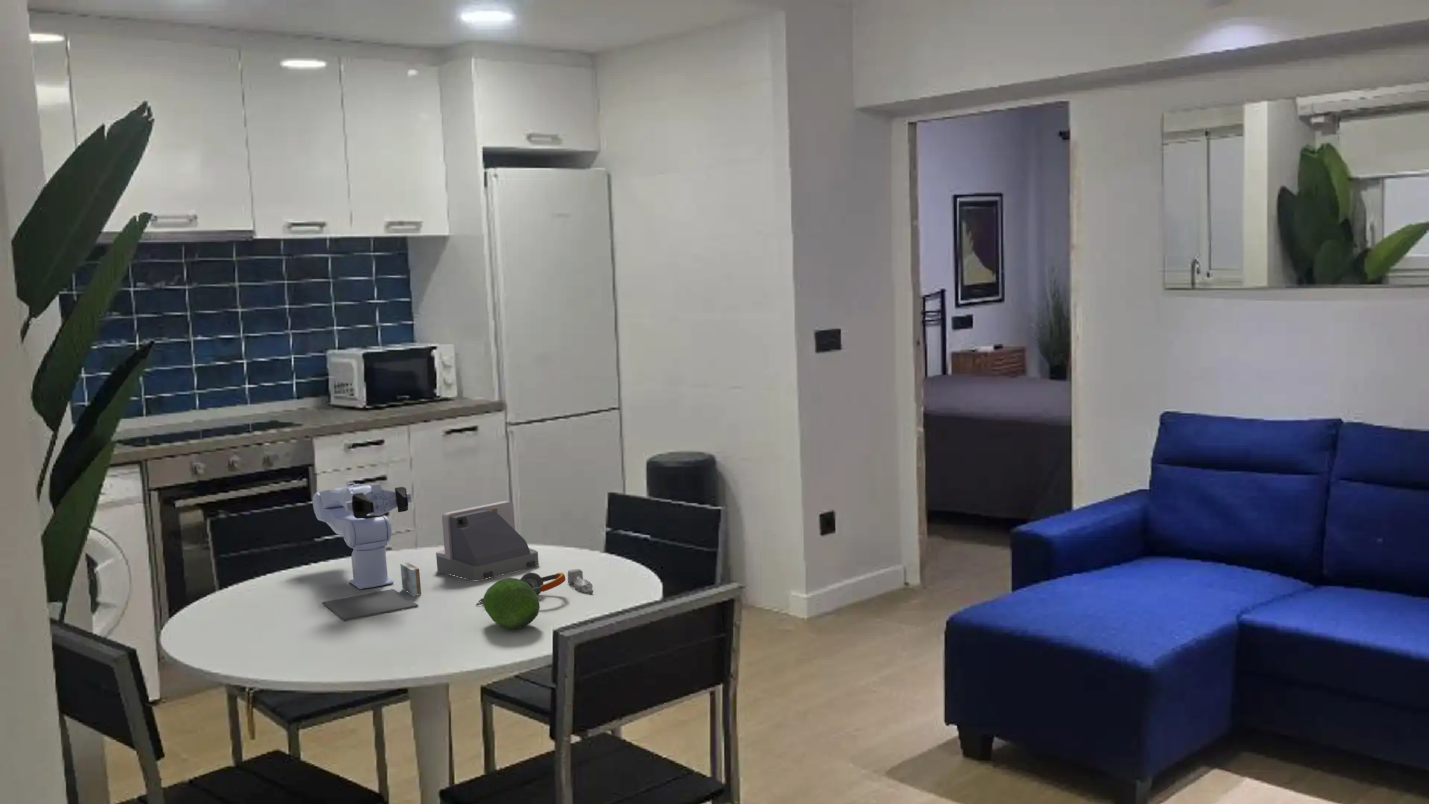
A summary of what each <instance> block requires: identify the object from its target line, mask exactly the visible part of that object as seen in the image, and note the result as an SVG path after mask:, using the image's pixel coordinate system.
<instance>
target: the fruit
mask: <svg viewBox="0 0 1429 804" xmlns="http://www.w3.org/2000/svg"><path fill="white" fill-rule="evenodd" d="M519 579H520V578H515V577H514V578H513V577H506V578H501V579H499V580H497V581H496V582H494V583H493V584H492V585H491V586H489V587H488V588H487V590H486V591H485V593H484V595H483V598H484V599H483V604H482V605H483V608H484V610H485V611H486V613H487V615H488V616H489V618H491V620H492V621H493V623H496V624H497V625H499V626H500V627H502V628H505V629H511V630H512V629H513V630H518V629H519V630H520V629H522V628H524V627H526V626H528V625H529V624H531V623H532V622H533V621H534V620H536V618H537V616H538V615H539V612H540V608H541V607H540V599H539V595H537V594H536V593H535V591H534V590H533V588H532V587H531V586H530V585H529V584H528V583H527V582H524V581H522V580H519Z"/></svg>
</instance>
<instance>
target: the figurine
mask: <svg viewBox="0 0 1429 804" xmlns="http://www.w3.org/2000/svg"><path fill="white" fill-rule="evenodd" d="M583 573H584V572H583V570H581V569H580V568H574V569H570V570H568V571H567V584H568V585H570V586H574V587H575V588H576V590H578V591H579V592H580V593H583V594H587V595H592V594H594V593H593V592H594V590H593V586H594V585H593V584H592V583H591V582H590V581H589V580H588V579H584V575H583Z"/></svg>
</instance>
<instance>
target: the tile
mask: <svg viewBox="0 0 1429 804" xmlns="http://www.w3.org/2000/svg"><path fill="white" fill-rule="evenodd" d="M399 565H400V576H401V585H402V588H403V589H404V590H403V589H402V590H403V591H404V592H406V591H408V592H409V593H410V594H409V593H408V592H407V593H408V594H409V595H411V594H412V595H411V596H412V597H415V596H414V595H416V596H418V595H417V594H421V595H422V589H421V588H422V587H421V585H422V584H421V573H420V568H419V567H417V566H415V565H413V564H411V563H410V562H402V563H400V564H399Z"/></svg>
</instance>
